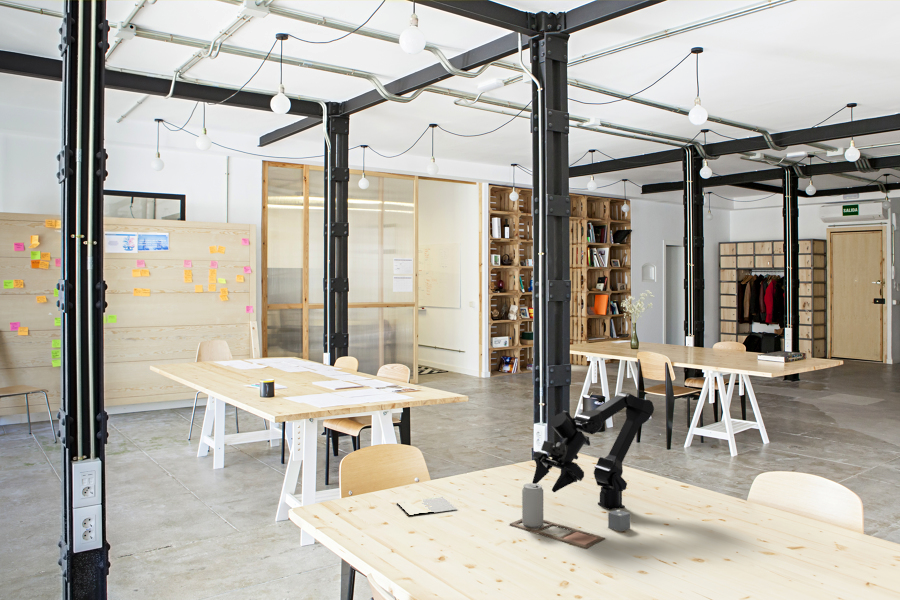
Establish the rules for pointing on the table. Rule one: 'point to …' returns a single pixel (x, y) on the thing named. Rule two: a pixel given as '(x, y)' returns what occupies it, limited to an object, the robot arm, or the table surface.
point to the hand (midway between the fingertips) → (542, 487)
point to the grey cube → (619, 520)
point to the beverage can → (532, 505)
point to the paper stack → (438, 504)
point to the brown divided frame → (566, 535)
